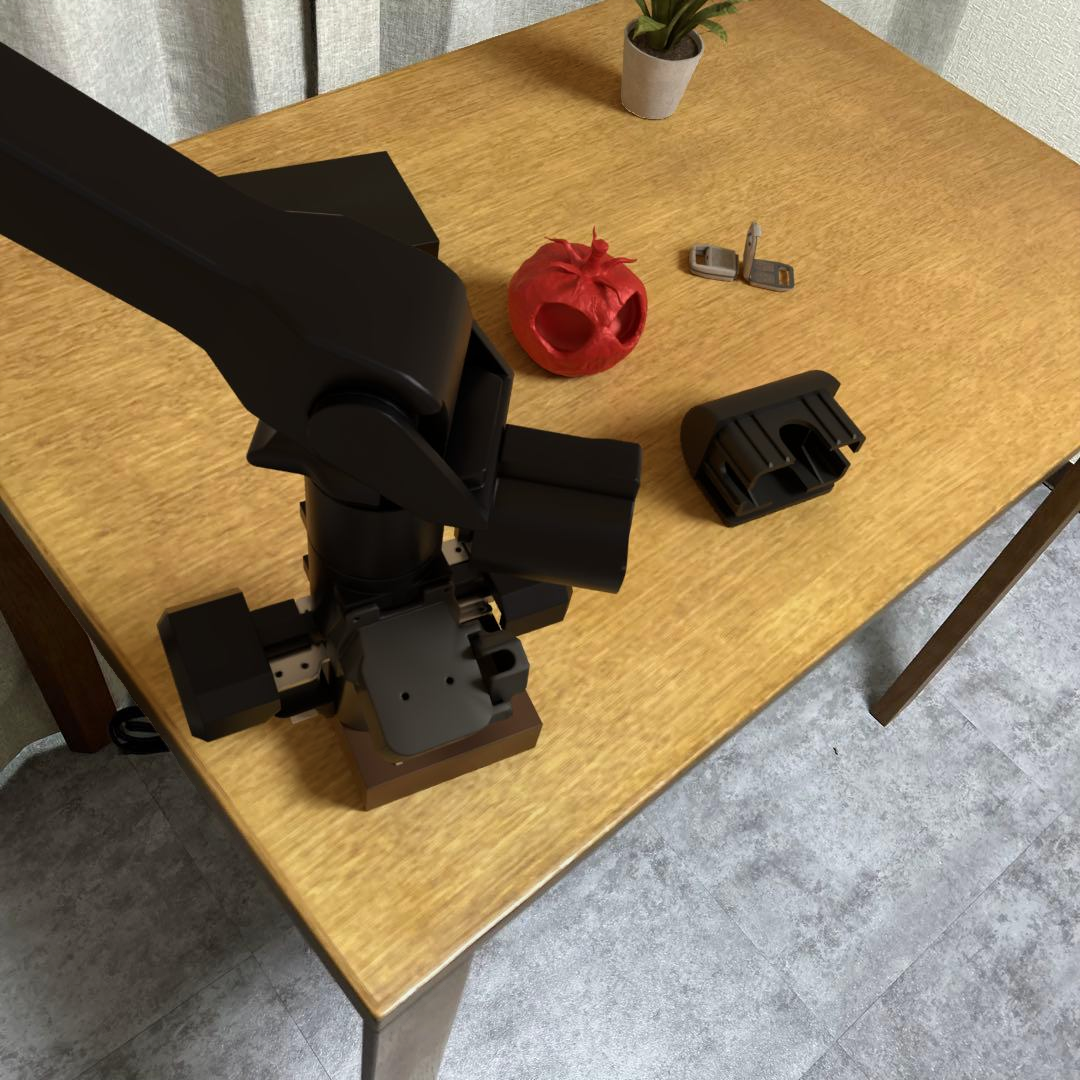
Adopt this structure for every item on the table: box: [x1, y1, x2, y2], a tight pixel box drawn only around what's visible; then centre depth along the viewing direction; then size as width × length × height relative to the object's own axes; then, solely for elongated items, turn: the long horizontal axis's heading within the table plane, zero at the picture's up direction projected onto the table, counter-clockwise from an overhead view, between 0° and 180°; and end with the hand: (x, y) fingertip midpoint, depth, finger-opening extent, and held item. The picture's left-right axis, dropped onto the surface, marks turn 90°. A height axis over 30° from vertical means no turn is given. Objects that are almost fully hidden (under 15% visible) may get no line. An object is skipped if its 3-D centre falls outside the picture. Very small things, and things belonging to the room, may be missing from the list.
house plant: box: [620, 0, 755, 119], centre depth 93 cm, size 14×14×16 cm
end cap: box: [679, 369, 867, 528], centre depth 74 cm, size 10×7×7 cm
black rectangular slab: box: [219, 150, 441, 259], centre depth 81 cm, size 19×12×4 cm, turn 115°
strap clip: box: [688, 221, 796, 292], centre depth 87 cm, size 8×3×4 cm, turn 85°
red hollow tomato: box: [506, 225, 649, 378], centre depth 77 cm, size 10×10×9 cm
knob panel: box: [290, 646, 544, 812], centre depth 61 cm, size 12×10×3 cm
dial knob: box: [328, 661, 369, 731], centre depth 57 cm, size 4×4×5 cm
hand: (370, 695), depth 59 cm, fingers closed on dial knob, 4 cm apart
